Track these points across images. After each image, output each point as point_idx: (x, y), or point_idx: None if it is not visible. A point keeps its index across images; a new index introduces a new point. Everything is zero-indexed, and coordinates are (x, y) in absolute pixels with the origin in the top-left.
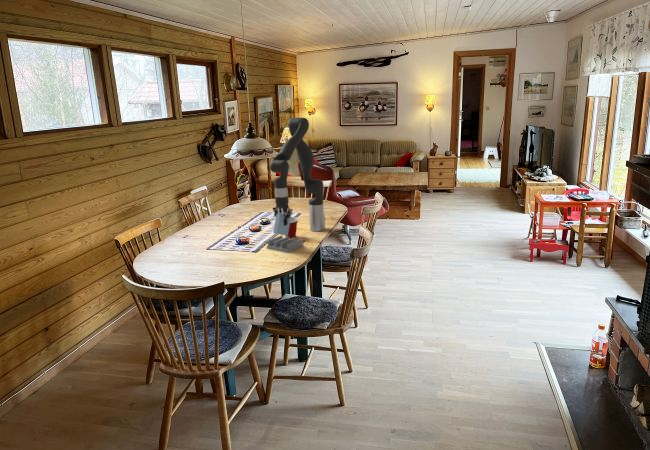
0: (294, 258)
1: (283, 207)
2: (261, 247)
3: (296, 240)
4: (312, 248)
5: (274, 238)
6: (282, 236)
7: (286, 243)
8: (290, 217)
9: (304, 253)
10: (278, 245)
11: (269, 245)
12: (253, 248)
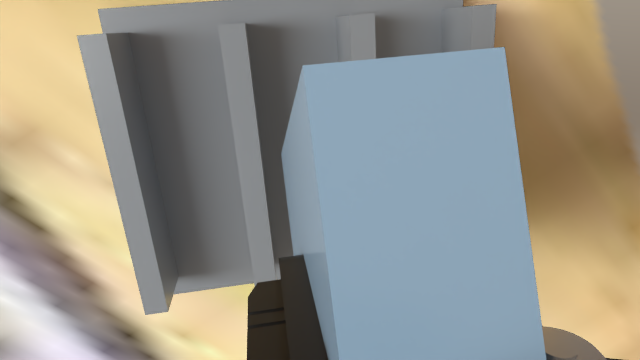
0: (583, 304)
1: None
2: (84, 290)
3: None
4: (591, 7)
5: (137, 206)
6: (110, 33)
7: None
8: (495, 81)
9: (595, 174)
10: (270, 222)
11: (176, 272)
12: (46, 353)
